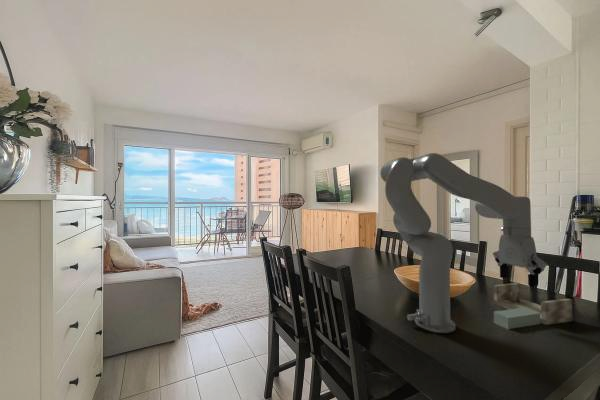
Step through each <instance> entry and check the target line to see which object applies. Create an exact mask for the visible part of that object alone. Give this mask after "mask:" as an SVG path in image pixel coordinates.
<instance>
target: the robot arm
mask: <svg viewBox="0 0 600 400" xmlns="http://www.w3.org/2000/svg"><path fill="white" fill-rule="evenodd" d="M380 178H381V179H382V180H383V182H385V188H384V189H385V190H384V192H385V198H386V200H387V202H388V203H389V205H390V208H391V209H392V210H393V212H394V213H393V218H392V219H393V221H392V222H393V225H394V227H395V229H396V230H397V232H398V233H399V235H400V236H401V238H402V239H403V241H404V242H405V243H406V245H407V246H408V247H409V249H410V250H411V251H412V252H413V253H414V254H416V255H418V256H419V257H421V261H420V264H419V268H418V284H419V285H418V296H419V297H418V298H419V299H418V301H419V302H418V305H419V308H417V309H416V312H415V313H410V314H409V313H408V314H407V315H406V318H407V320H408V321H414V322H415V324H416V325H417V326H418V327H420V328H422V329H424V330H426V331H428V332H432V333H438V334H448V333H453V332H454V331H456V329H457V328H456V323H455V322H454V321H453V320H452V319H451V279H450V278H451V263H452V258H453V253H454V250H453V244H452V243H451V241H450V240H449V239H448V237H446V236H444V235H442V234H440V233H436V232H434V231H433V232H432V231H430V229H431V228H432V221H431V218H430V215H429V214H428V212H426V210H425V208H424V207H423V206H422V205H421V202H420V201H419V200H418V199H417V197H416V196H415V194H414V192H413V189H412V182H414V181H419V180H426V179H429V180H430V181H432V182H433V183H434V184H436V185H437V186H439V187H441V188H442V189H443V190H445V191H446V192H448V193H449V194H451V195H453V196H456V197H458V198H462V199H466V200H471V201H474V202H476V203H475V206H474V209H475V212H476V213H477V214H478V215H479V216H481V217H484V218H487V219H498V220H502V227H501V228H500V231H502V234H501V235H500V237H499V243H498V250H497V251H494V252H492V255H493V257H494V260H495V262H496V263H497V266H498V267H499V277H500V278H501V279H505V278H509V277H510V275H509V271H510V269H509V268H510V267H509V266H514V267H519V268H525V269H526V270H527V272H529V273H528V275H527V276H528V277H527V281H528V283H527V284H528V287H537V286H539V275H540V274H541V273H542V272H544V271H545V270H546V269H545V268H546V267H547V266H548V263H547V262H546V261H544V260H543V259H541V258H540V257H538V256H537V247H536V242H535V240H534V239H535V238H534V237H532V216H531V215H532V214H531V213H532V210H531V208H532V207H531V205H532V204H531V199H530V197H527V196H515V195H513V194H511V193H510V192H509V191H507V190H506V189H504V188H503V187H500V186H499V185H497V184H494V183H492V182H490V181H488V180H485V179H482V178H481V177H477V176H474V175H473V174H470V173H468V172H467V171H465V170H464V169H462V168H461V167H459V166H458V165H457V164H456V163H453V161H451V160H449V159H447V157H444V155H442V154H439V153H436V152H432V153H431V152H430V153H426V154H424V155H421V156H418V157H415V158H414V157H413V158H408V157H403V156H402V157H397V158H394V159H392V160H389V161H388V162H386V163H384V164H383V165H382V167H381V169H380ZM508 265H509V266H508ZM537 265H538V266H537Z"/></svg>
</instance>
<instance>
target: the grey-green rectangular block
mask: <svg viewBox="0 0 600 400" xmlns="http://www.w3.org/2000/svg"><path fill="white" fill-rule="evenodd" d="M493 324H495V325H498V326H499V327H501V328H504V329H505V330H510V329H516V328H524V327H528V326H530V327H531V326H535V325H541V323H540V313H538V312H536V311H533V310H530V309H528V308H525V307H524V308H517V309H505V310H495V311H493Z"/></svg>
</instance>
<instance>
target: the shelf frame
mask: <svg viewBox="0 0 600 400" xmlns="http://www.w3.org/2000/svg"><path fill="white" fill-rule="evenodd" d="M493 304H494V305H497V306H498V307H502V308H504V309H505V310H509V309H517V308H524V307H525V308H528V309H530V310H533V311H536V312H538V313H540V324H542V325H546V326H547V325H554V324H561V323H568V322H573V299H571V298H561V299H553V300H545V301H544V300H542V301H541V302H540V304H538V303H536V302H533V301H529V300H527V299H524V298H521V283H519V282H512V283H504V284H503V283H502V284H494V285H493Z"/></svg>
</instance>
